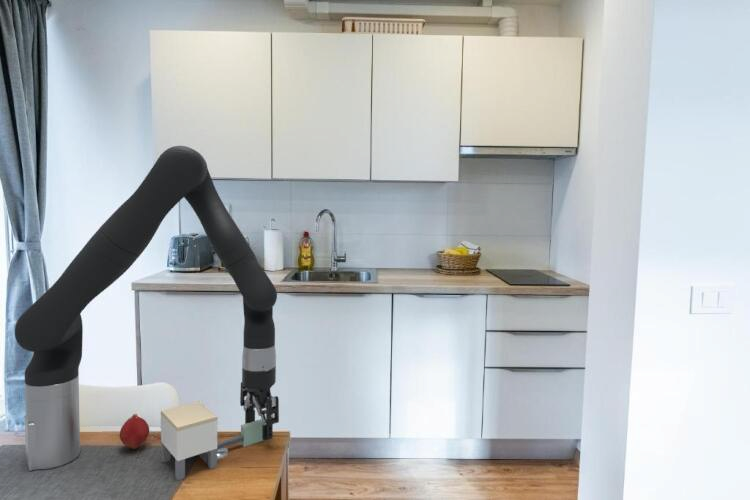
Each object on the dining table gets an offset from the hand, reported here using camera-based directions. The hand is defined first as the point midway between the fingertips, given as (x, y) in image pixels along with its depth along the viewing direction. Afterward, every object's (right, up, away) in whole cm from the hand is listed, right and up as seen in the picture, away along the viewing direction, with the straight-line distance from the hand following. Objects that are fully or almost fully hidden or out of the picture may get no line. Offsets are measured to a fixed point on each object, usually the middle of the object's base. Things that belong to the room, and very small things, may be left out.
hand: (258, 432), depth 108 cm
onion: (-26, -2, -5) cm, 27 cm away
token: (-7, -2, -6) cm, 10 cm away
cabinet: (-12, -2, -10) cm, 16 cm away
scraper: (-5, -2, -4) cm, 6 cm away
